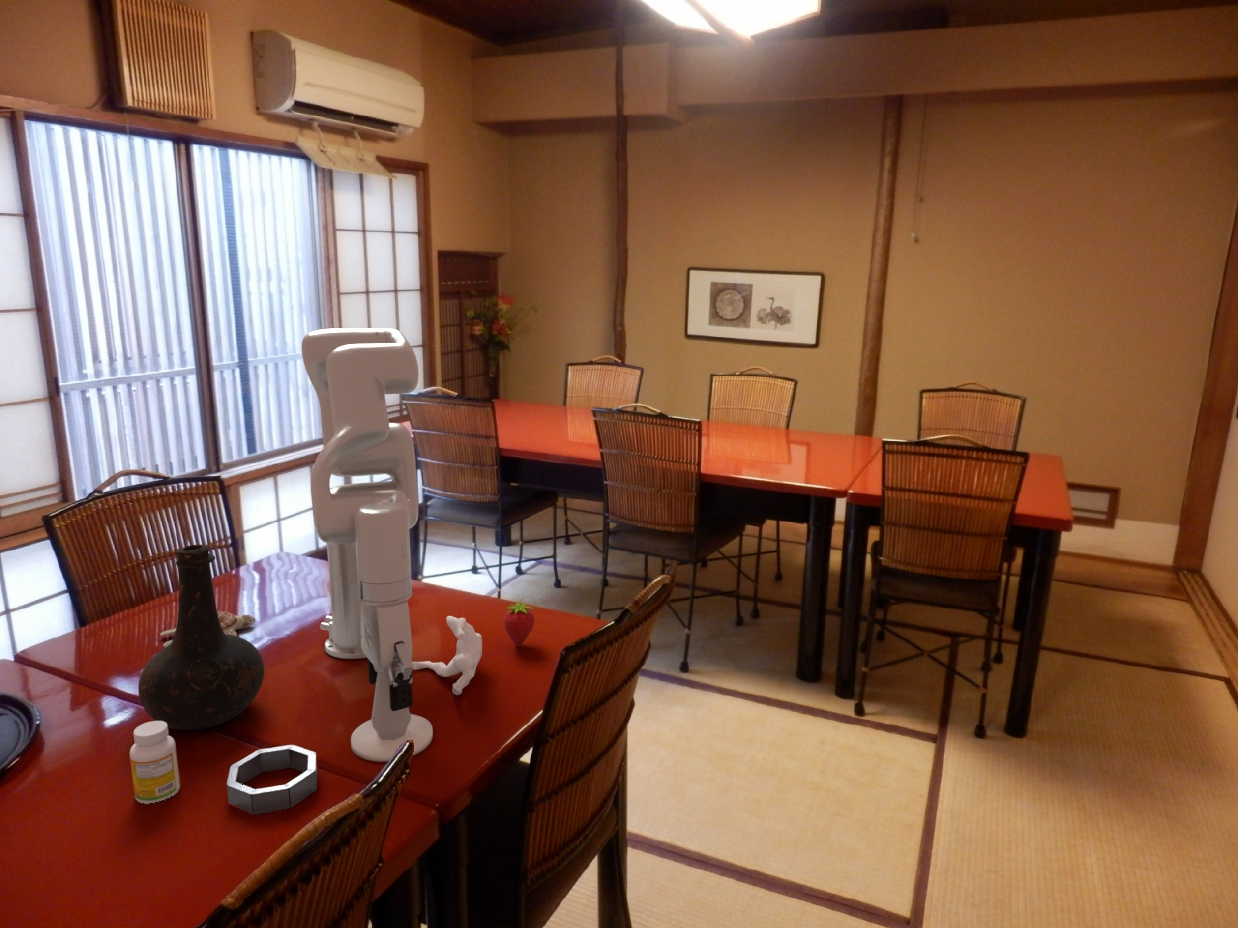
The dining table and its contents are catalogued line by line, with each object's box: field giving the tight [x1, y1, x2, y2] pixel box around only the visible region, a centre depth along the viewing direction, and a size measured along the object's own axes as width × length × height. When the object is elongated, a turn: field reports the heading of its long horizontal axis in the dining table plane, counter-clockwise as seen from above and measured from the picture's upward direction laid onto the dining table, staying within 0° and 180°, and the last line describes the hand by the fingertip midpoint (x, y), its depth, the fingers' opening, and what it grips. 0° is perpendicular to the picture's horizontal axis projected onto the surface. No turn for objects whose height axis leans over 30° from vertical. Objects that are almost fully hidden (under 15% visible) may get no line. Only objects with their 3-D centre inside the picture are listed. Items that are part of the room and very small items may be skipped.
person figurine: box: [411, 615, 483, 696], centre depth 146 cm, size 13×13×18 cm
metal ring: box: [226, 744, 318, 815], centre depth 113 cm, size 11×11×3 cm
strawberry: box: [503, 598, 535, 648], centre depth 158 cm, size 6×8×10 cm
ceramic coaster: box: [350, 713, 434, 763], centre depth 126 cm, size 12×12×1 cm
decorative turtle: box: [159, 610, 256, 648], centre depth 161 cm, size 18×17×5 cm
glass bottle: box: [137, 544, 266, 731], centre depth 129 cm, size 18×18×28 cm
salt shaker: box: [370, 660, 412, 740], centre depth 125 cm, size 6×6×13 cm
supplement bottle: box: [129, 720, 181, 805], centre depth 111 cm, size 5×5×10 cm
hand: (390, 694), depth 125 cm, fingers open, 9 cm apart
